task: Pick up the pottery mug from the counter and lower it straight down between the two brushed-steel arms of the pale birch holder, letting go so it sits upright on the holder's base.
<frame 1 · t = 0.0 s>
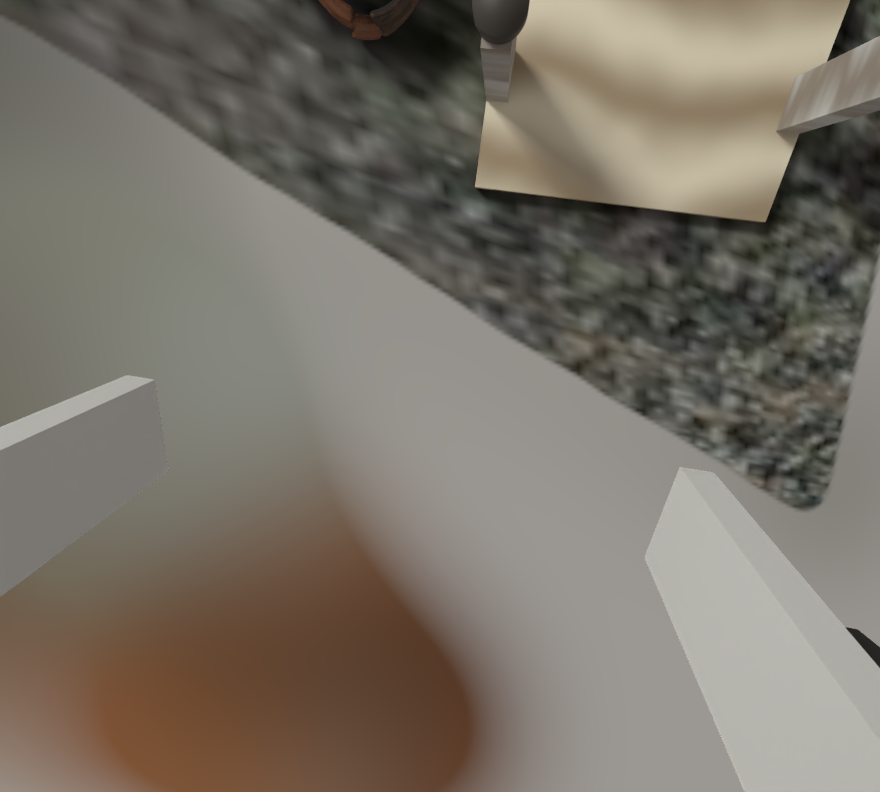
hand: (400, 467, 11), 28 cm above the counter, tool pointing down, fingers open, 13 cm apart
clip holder: (639, 95, 30), on the counter
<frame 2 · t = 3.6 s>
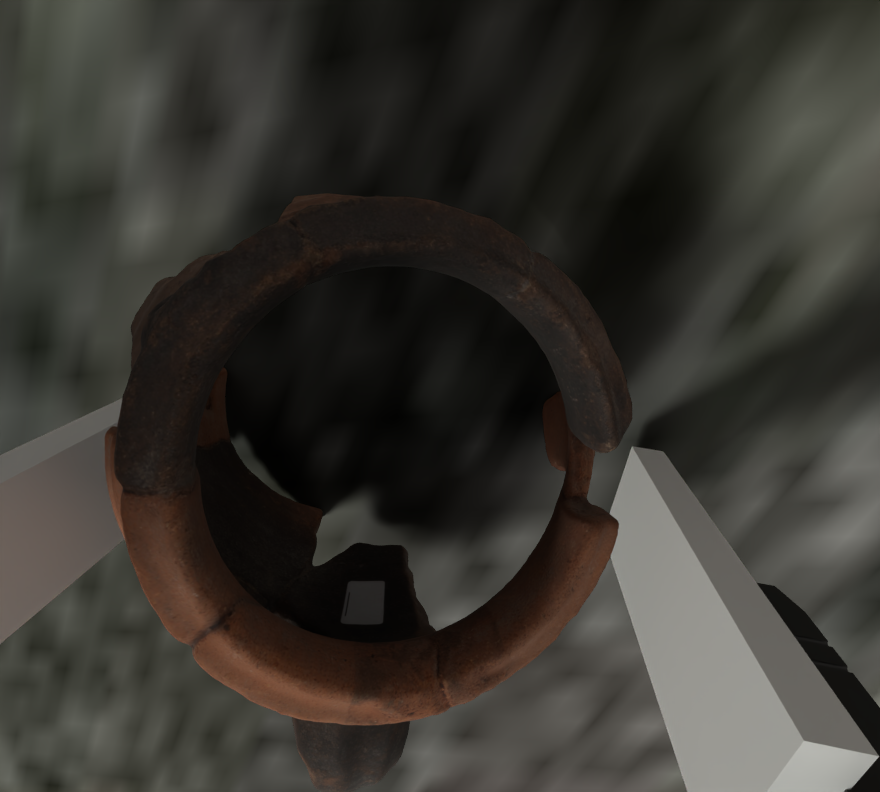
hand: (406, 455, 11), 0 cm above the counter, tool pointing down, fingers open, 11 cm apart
pottery mug: (389, 432, 12), on the counter, touching gripper
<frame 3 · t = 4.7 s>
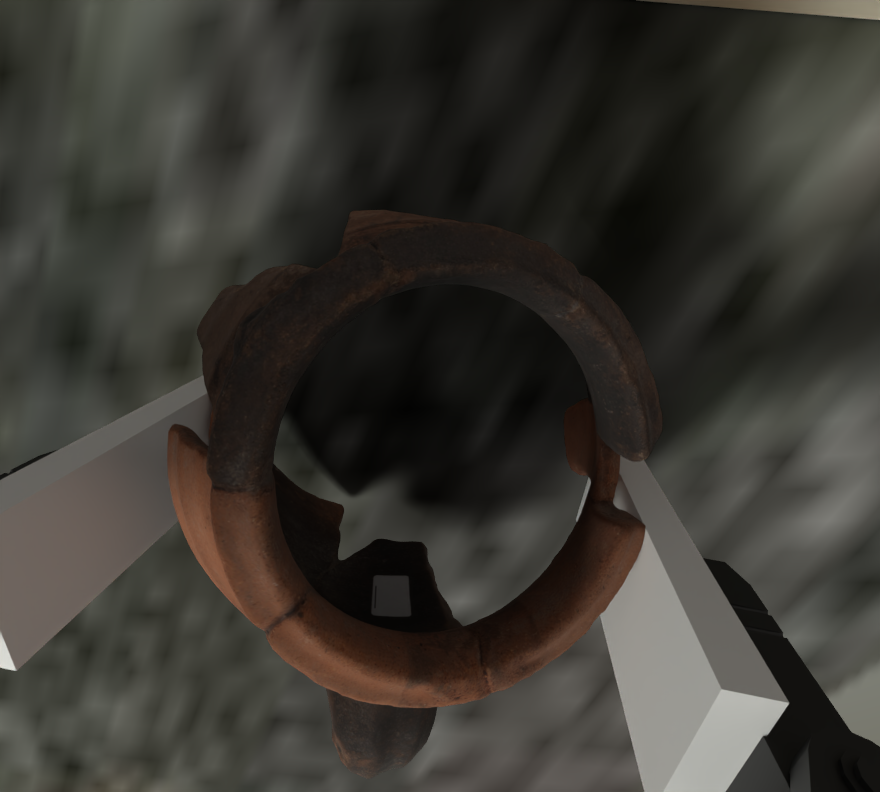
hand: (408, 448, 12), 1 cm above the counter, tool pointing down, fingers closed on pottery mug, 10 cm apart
pottery mug: (413, 433, 13), on the counter, touching gripper
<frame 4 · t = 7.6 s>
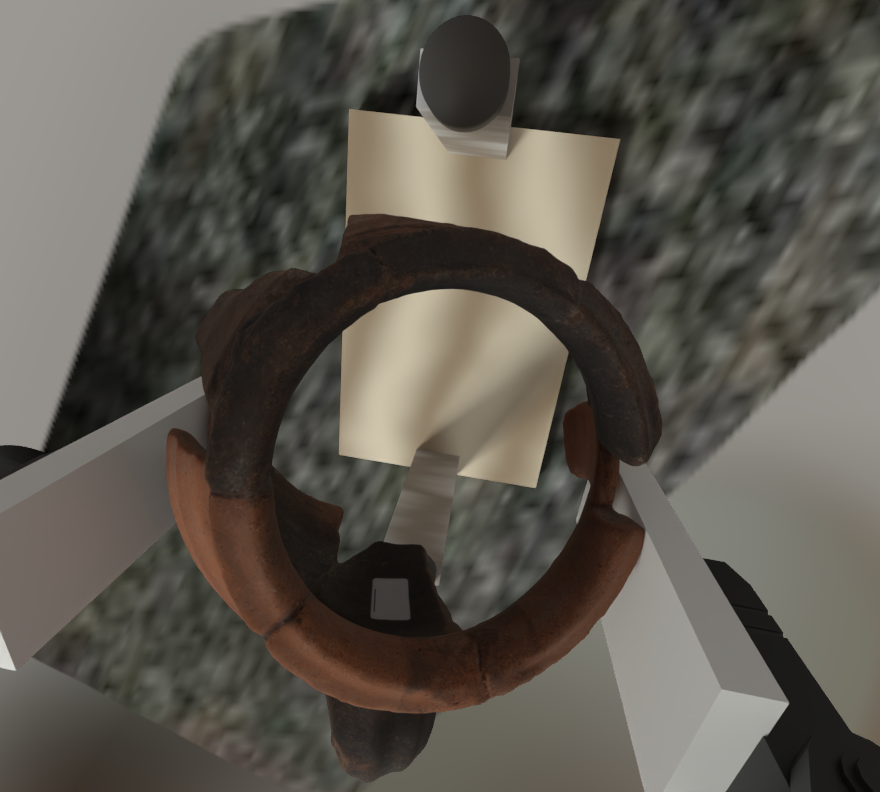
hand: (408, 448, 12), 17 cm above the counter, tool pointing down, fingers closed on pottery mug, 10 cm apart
pottery mug: (413, 435, 13), point 16 cm above the counter, touching gripper
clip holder: (456, 320, 27), on the counter
when the fingers open (3 cm above the counter, at t = 10.4 s): pottery mug stays where it is, resting on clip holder.
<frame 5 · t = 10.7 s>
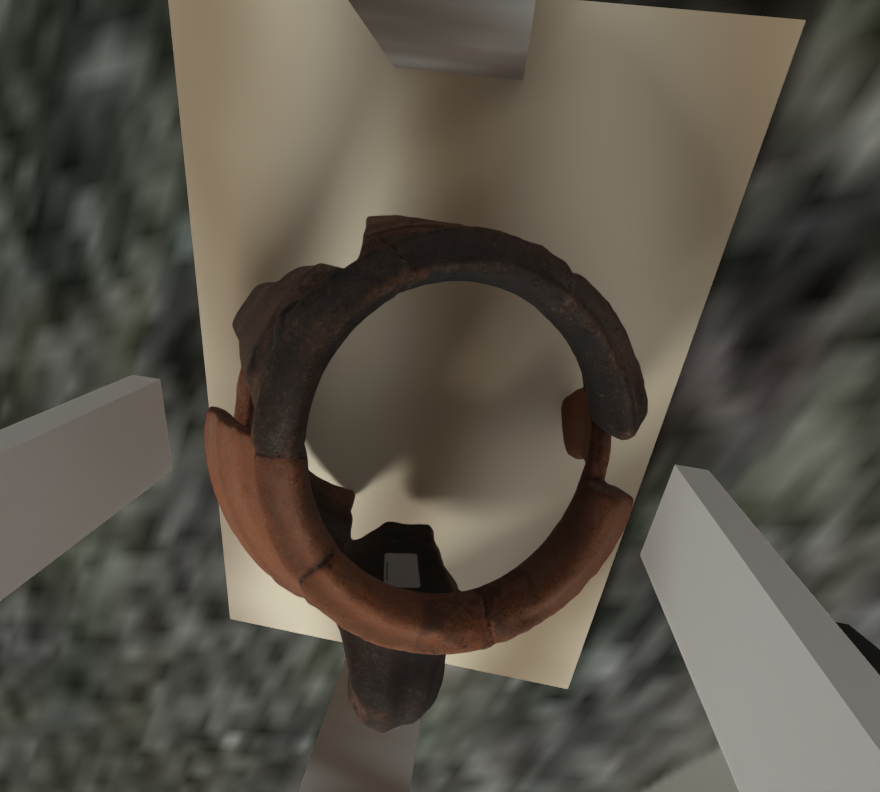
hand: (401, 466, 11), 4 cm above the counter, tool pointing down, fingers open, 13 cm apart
pottery mug: (420, 422, 14), point 1 cm above the counter, touching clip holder
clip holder: (425, 406, 14), on the counter
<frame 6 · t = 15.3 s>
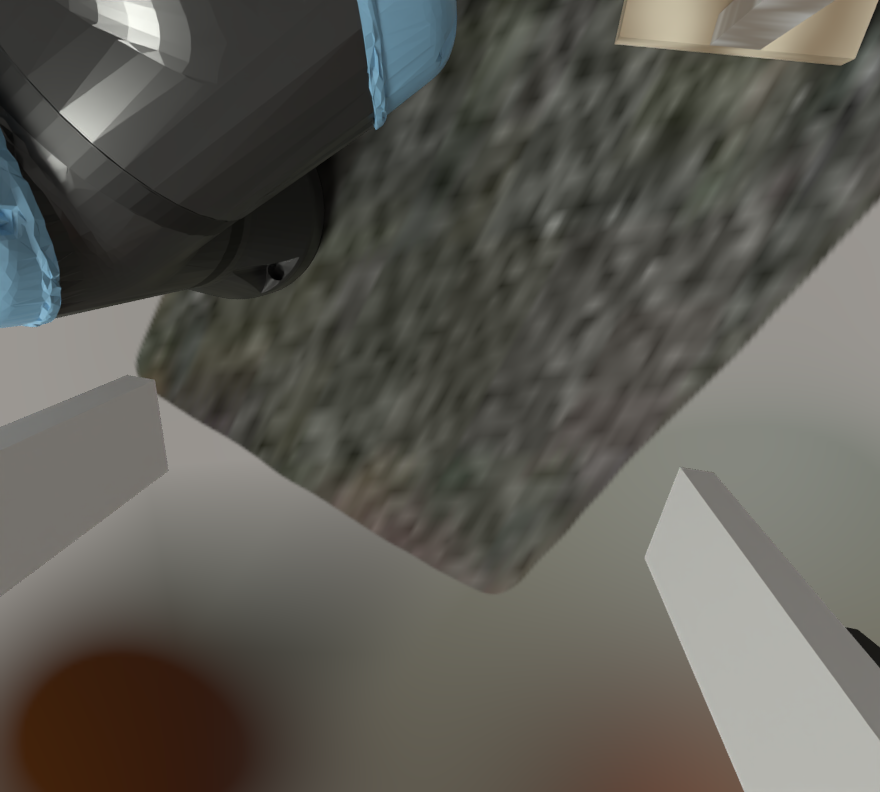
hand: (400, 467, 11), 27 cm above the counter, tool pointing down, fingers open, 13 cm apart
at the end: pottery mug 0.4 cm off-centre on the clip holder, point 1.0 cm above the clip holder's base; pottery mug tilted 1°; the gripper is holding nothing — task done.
